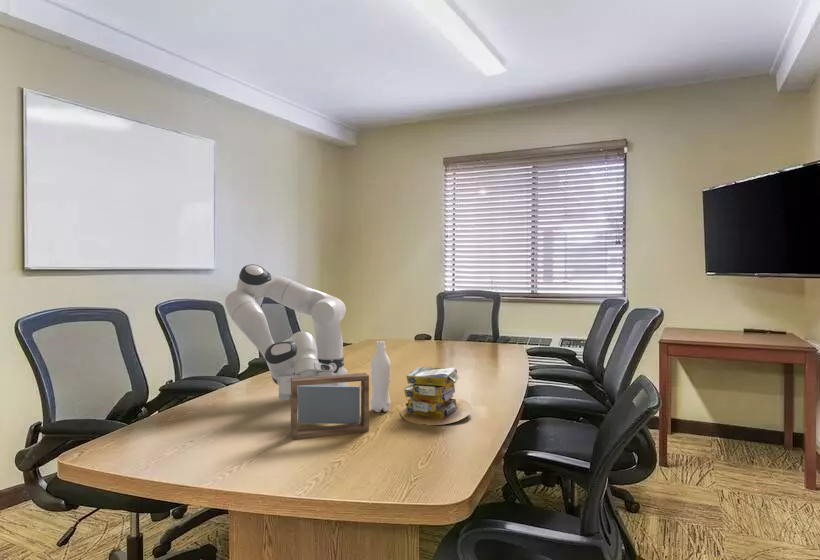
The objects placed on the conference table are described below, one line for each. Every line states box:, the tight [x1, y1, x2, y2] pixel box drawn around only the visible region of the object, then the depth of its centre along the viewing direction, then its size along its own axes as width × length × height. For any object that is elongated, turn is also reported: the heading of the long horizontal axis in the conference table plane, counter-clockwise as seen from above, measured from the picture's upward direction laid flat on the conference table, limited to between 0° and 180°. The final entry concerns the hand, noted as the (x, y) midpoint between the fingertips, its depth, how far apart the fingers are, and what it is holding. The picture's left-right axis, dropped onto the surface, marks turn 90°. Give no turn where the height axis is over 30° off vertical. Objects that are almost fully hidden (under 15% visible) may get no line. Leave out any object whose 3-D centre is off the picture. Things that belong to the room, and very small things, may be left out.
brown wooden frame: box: [290, 372, 370, 440], centre depth 156 cm, size 4×24×18 cm, turn 110°
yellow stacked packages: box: [400, 366, 473, 426], centre depth 177 cm, size 25×25×17 cm
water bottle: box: [370, 340, 391, 413], centre depth 181 cm, size 7×7×25 cm
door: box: [297, 385, 361, 425], centre depth 163 cm, size 2×20×12 cm, turn 88°
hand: (311, 407), depth 166 cm, fingers closed
